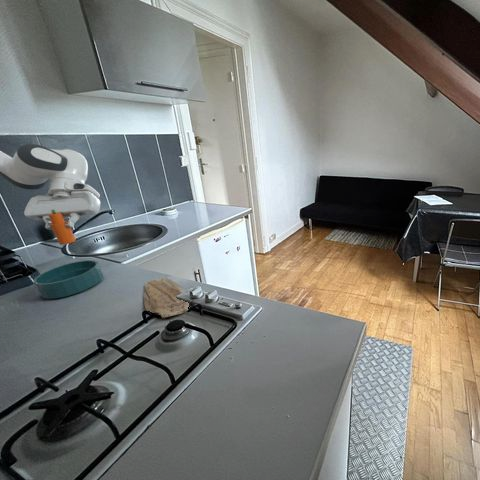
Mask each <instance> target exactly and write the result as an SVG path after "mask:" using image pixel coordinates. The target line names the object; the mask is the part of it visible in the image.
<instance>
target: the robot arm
mask: <svg viewBox="0 0 480 480" xmlns="http://www.w3.org/2000/svg"><path fill="white" fill-rule="evenodd" d="M88 174H89V164H88V161H87V159H86V157H85V156H84V155H83V154H81V153H80V152H78V151H75V150H72V149H68V148H66V149H65V148H64V149H54V148H48V147H47V146H43V145H41V144H35V143H26V144H25V143H24V144H22V145H20V146H19V147H18V148H17V150H16V151H15V153H14V154H13V157H12V156H10V155H8V154H7V153H5V152H3V151H2V150H0V176H1V177H3V178H4V179H5V180H7V181H8V183H10V184H11V185H13V186H15V187H18V188H19V189H20V188H21V189H24V190H31V191H33V190H40V189H43V188H45V187H46V186H47V184H48V183H49V187H48V191H47V193H43V194H42V193H39V194H35V195H34V196H33V197H31V198H30V199H29V200H28V202H27V204H26V206H25V208H24V211H23V215H24V216H25V217H26V218H28V219H30V220H31V221H43V222H44V223H45V226H44V228H45V229H46V230H48V231H51V230H52V228H51V226H50V224H51V223H52V222H51V220H50V218H49V216H48V215H49V214H52V211H51V210H55V212H56V213H61V214H62V216H63V219H64V218H69V219H68V220H64V221H65V226H66V227H68V228H71V229H72V228H74V227H75V224H76V223H77V221H78V220H80V217H84V216H94V215H97V214H98V213H100V211H101V200H100V197H101V193H99V192H98V190H96V189H95V188H94V187H92V186H91V185H89V184H88V183H86V182H87V179H88ZM49 181H50V182H49ZM52 231H53V230H52Z"/></svg>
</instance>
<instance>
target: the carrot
mask: <svg viewBox="0 0 480 480" xmlns="http://www.w3.org/2000/svg"><path fill="white" fill-rule="evenodd" d="M51 211H52V214H49V215H48V216H49V218H50V220H51V224H50V226H51V228H52V232H53V234H54V236H55V239H56V240H57V242H58V244H59V245H61V246H63V245H69V244H72V243H74V242H77V239H76V237H75V235H74V233H73V231H72V227H71V228H68V227H66V226H65V221H66V220H65V219H64V218H63V216H62V214H61V213H56V212H55V210H51Z"/></svg>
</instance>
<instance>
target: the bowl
mask: <svg viewBox="0 0 480 480" xmlns="http://www.w3.org/2000/svg"><path fill="white" fill-rule="evenodd" d="M103 278H104V273H103V270H102V269H101V266H100V264H99V262H98V260H94V259H86V260H79V261H73V262H69V263H65V264H62V265H59V266H55V267H53V268H50V269H48V270H46V271H44V272H42V273H40V274H39V275H37V276H35V278H34V279H33V282H32V283H33V285H34V287H35V288H36V290H37V292H38V293H39V295H40V297H42V298H43V299H49V300H53V299H59V298H66V297H70V296H73V295H76V294H80V293H82V292H84V291H87V290H89V289H91V288H93V287H94V286H95V285H97V284H98V283H100V282H101V281H102V280H103Z"/></svg>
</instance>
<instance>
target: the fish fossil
mask: <svg viewBox="0 0 480 480" xmlns="http://www.w3.org/2000/svg"><path fill="white" fill-rule="evenodd" d="M184 291H187V290H186V289H185V288H183V287H182V286H181V285H179V284H178V283H176V282H174V281H173V280H171V279H170V278H168V277H159V278H157V279H153V280H150V281H147V282H146V283H145V285H144V289H143V293H142V295H143V297H142V298H143V303H144V308H145V310H146V312H148V311H150V312H153V313H158V314H159V315H161V317H162V318H161V319H165V318H169V317H173V316H177V315H181V314H185V313H187V312H188V310H189V309H188V307H189V303H188V302H185V301H183V300H179V299H177V298H176V296H177V295H179V294H181V293H182V292H184ZM189 308H190V307H189ZM150 312H149V313H150Z"/></svg>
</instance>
